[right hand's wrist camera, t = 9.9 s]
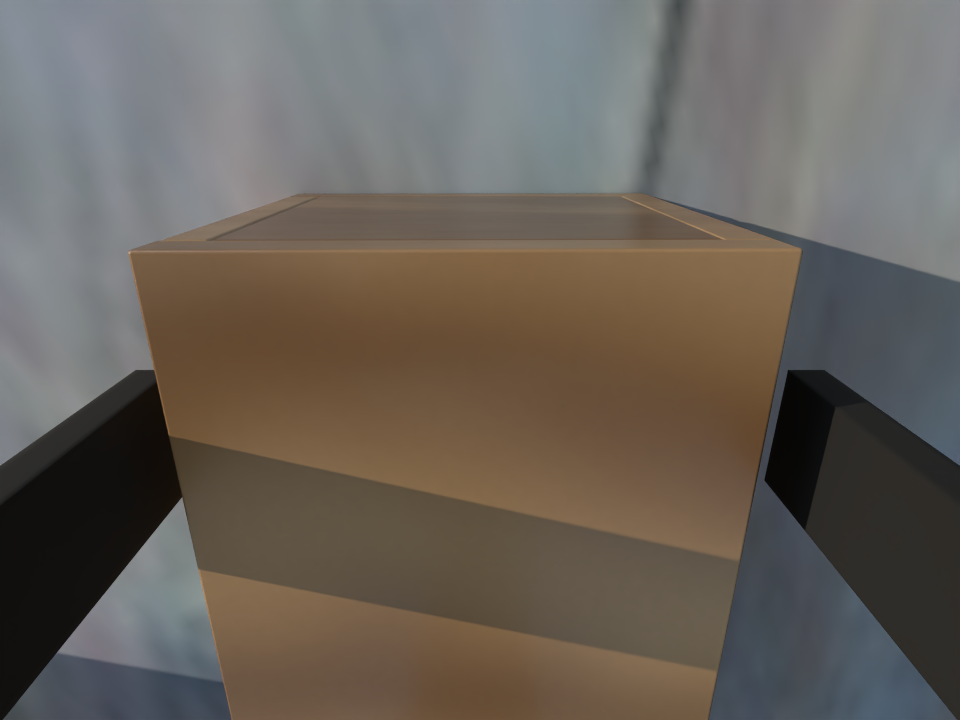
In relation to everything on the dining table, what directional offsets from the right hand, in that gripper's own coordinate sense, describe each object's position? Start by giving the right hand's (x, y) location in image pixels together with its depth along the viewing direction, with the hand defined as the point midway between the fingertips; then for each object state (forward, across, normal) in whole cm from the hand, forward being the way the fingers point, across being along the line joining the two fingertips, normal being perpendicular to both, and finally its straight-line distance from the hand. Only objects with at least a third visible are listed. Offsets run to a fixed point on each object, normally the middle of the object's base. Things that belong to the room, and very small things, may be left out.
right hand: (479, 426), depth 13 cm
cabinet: (+7, 0, -6) cm, 9 cm away
